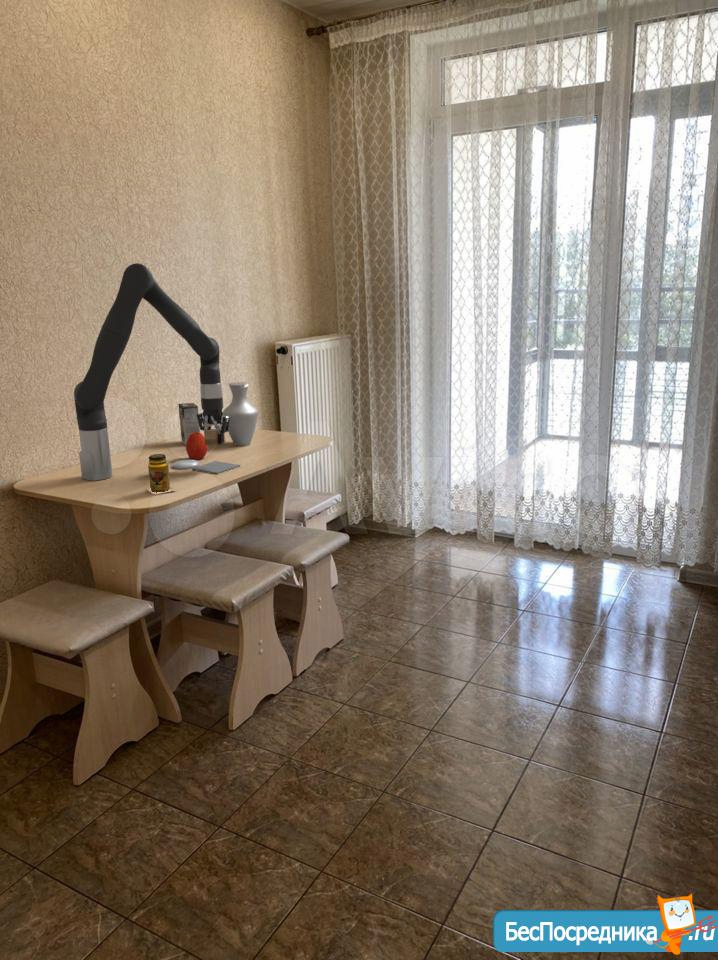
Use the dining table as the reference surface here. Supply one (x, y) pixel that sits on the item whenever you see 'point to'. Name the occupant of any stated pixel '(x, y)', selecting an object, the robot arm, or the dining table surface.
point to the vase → (241, 415)
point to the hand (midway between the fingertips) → (215, 442)
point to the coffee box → (188, 420)
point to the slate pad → (216, 467)
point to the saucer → (186, 464)
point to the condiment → (158, 473)
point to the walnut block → (212, 437)
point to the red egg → (196, 446)
